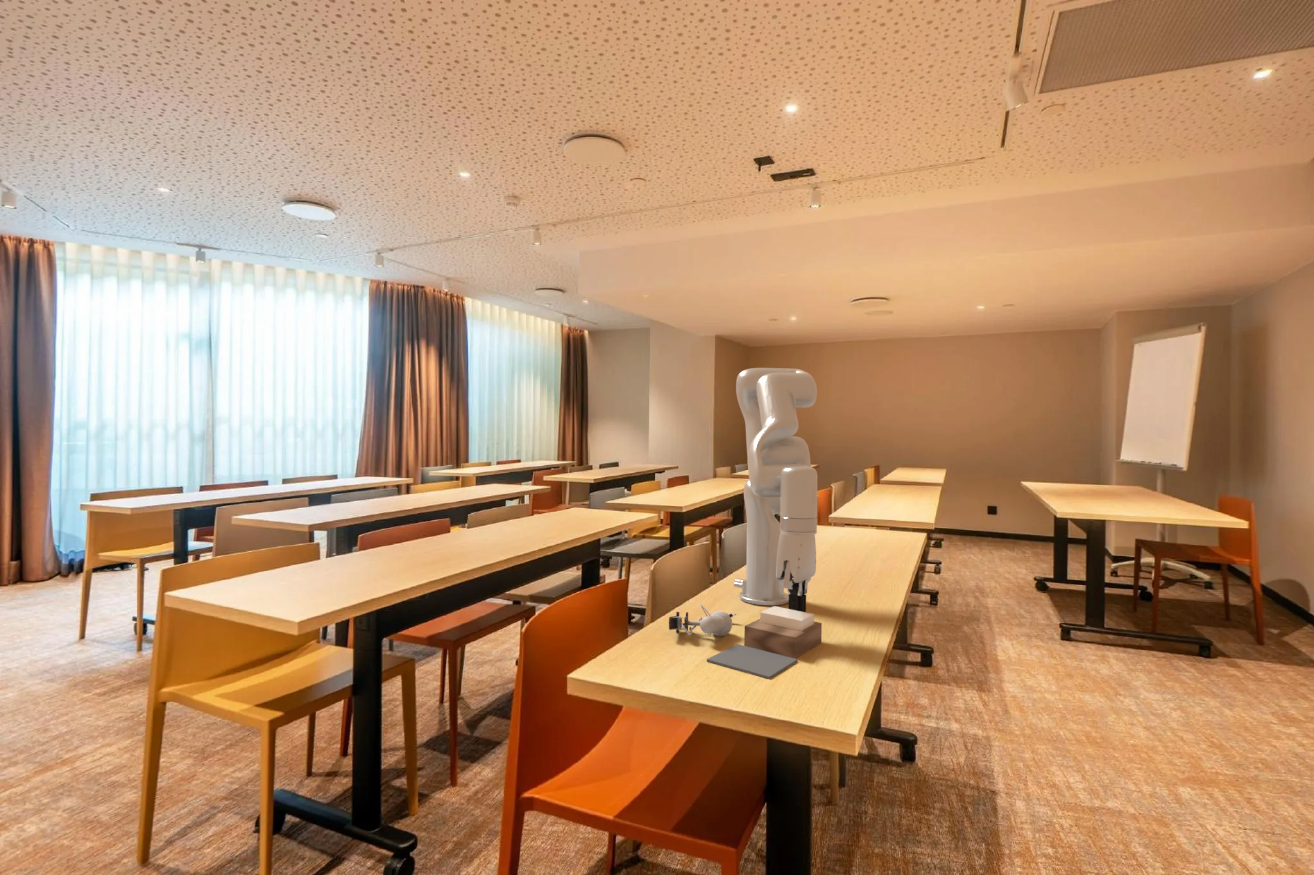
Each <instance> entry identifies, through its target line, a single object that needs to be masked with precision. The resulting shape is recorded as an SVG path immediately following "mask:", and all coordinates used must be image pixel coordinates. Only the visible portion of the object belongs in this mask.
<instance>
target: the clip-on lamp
mask: <svg viewBox="0 0 1314 875" xmlns="http://www.w3.org/2000/svg"><path fill="white" fill-rule="evenodd" d="M700 607H701V608H702V611H703V613H704V614H705V616H704V617H700V618H699V619H698V620H689V612H687V611H686V612H685V616H680V611H676V612H675V614H676V615H674V616H669V617H668V618H669V619H668V629H669V631H675V632H676V633H679V632H680V631H684V632H685V633H686V634H687V635H688V636H692V634H693V630H695V629H696V627H699V628H700V629H701V631H702V632H703V633H704V634H706V635H707V634H710V635H711V634H712V635H714V636H717V637H724V636H727V635H728V634H729V633H730V632H731V630H732V628H733V620H732V618H733V617H734V616H736V615H737V614H736V613H727V612H725V611H723V610H716V611H714V612H712V613H711V614H710V613H709V611H708V610H707V609H706V608H705V606H704V605H703V604H702V603H700ZM683 619H684V622H683ZM692 626H693V627H692Z"/></svg>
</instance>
